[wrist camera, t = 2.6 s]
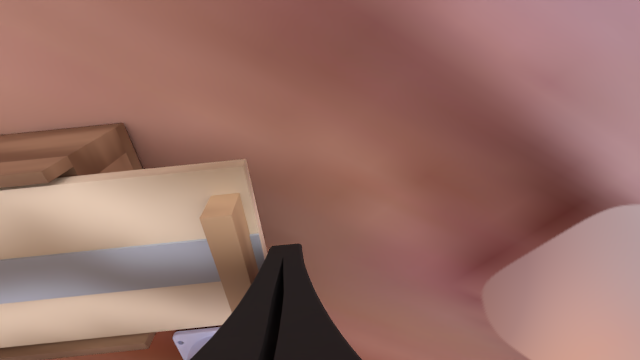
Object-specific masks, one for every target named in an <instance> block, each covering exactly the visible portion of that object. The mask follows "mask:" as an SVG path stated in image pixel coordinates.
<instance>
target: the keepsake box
mask: <svg viewBox="0 0 640 360" xmlns="http://www.w3.org/2000/svg"><path fill="white" fill-rule="evenodd" d="M140 169H142V167H141V164H140V162H139V160H138V157H137V155H136V152H135V150H134V148H133V145H132V143H131V140H130V138H129V136H128V133H127V131H126V128H125V126H124V124H123V123H118V124H108V125H98V126H88V127H78V128H68V129H58V130H48V131H38V132H28V133H18V134H8V135H0V188H3V187H13V186H23V185H33V184H43V183H49V182H51V181H52V180H54V179H55V178H61V177H71V176H81V175H90V174H100V173H110V172H120V171H130V170H140ZM155 333H156V332H150V333H141V334H131V335H121V336H111V337H102V338H92V339H82V340H73V341H63V342H53V343H44V344H34V345H24V346H14V347H5V348H0V360H45V359H54V358H64V357H74V356H83V355H93V354H103V353H112V352H122V351H132V350H141V349H149V346H150V344H151V342H152V340H153V338H154V336H155Z"/></svg>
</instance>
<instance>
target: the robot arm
mask: <svg viewBox="0 0 640 360" xmlns="http://www.w3.org/2000/svg"><path fill="white" fill-rule="evenodd" d="M173 341H174V343H175V344H176V346H177V348H178V350H179V352H180V354H181V356H182V358H183V360H362V359H361V358H360V357H359V356H358V355H357V353H356V352H355V351H354V350H353V349H352V347H351V346H350V345H349V344H348V342H347V341H346V340H345V338H344V337H343V336H342V335H341V333H340V332H339V330H338V329H337V327H336V326H335V324H334V323H333V322H332V320H331V319H330V317H329V315H328V314H327V312H326V310H325V309H324V307H323V305H322V303H321V302H320V300H319V298H318V296H317V294H316V292H315V290H314V288H313V285H312V283H311V281H310V278H309V276H308V273H307V270H306V268H305V264H304V259H303V252H302V246H301V245H300V244H290V245H280V246H272V247H271V248H270V249H269V252H268V254H267V256H266V258H265V260H264V262H263V264H262V266H261V268H260V270H259V272H258V274H257V275H256V277H255V279H254V281H253V282H252V284H251V286H250V287H249V289H248V290H247V292H246V294H245V295H244V297H243V298H242V300H241V301H240V303H239V304H238V305H237V307H236V308H235V310H234V311H233V312H232V313H231V315H230V316H229V317H228V319H227V320H226V321H225V322H224V323H223V325H222V326H221V327H214V328H205V329H195V330H185V331H177V332H175V333H174V335H173Z"/></svg>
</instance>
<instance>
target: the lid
mask: <svg viewBox="0 0 640 360" xmlns="http://www.w3.org/2000/svg"><path fill="white" fill-rule="evenodd" d="M266 256H267V250H266V245H265V241H264V237H263V232H262V228H261V223H260V219H259V214H258V210H257V206H256V201H255V197H254V192H253V188H252V183H251V179H250V175H249V170H248V166H247V161H246V159H240V160H230V161H220V162H210V163H200V164H190V165H180V166H170V167H160V168H150V169H140V170H130V171H120V172H110V173H100V174H90V175H81V176H71V177H61V178H55V179H54V180H52V181H51V182H49V183H43V184H33V185H23V186H13V187H3V188H0V348H5V347H14V346H24V345H34V344H44V343H53V342H63V341H73V340H82V339H92V338H102V337H111V336H121V335H131V334H141V333H150V332H160V331H170V330H179V329H189V328H199V327H208V326H218V325H223V323H224V322H225V321H226V320H227V319H228V317H229V316H230V315H231V313H232V312H233V311H234V310H235V308H236V307H237V305H238V304H239V303H240V301H241V300H242V298H243V297H244V295H245V294H246V292H247V290H248V289H249V287H250V286H251V284H252V282H253V281H254V279H255V277H256V275H257V274H258V272H259V270H260V268H261V266H262V264H263V262H264V260H265V258H266Z"/></svg>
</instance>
